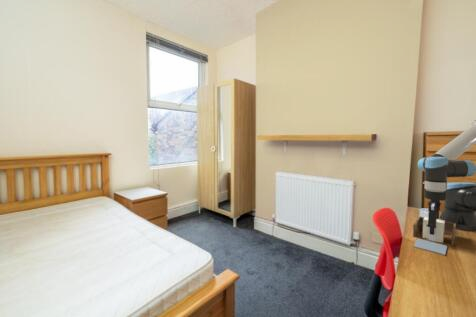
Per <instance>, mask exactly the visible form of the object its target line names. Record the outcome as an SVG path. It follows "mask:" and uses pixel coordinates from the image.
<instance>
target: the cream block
mask: <svg viewBox="0 0 476 317" xmlns="http://www.w3.org/2000/svg"><path fill="white" fill-rule="evenodd" d="M426 225H428V217H425V218H424V219H423V229H422V239H425V238H426V239H425V240H428V227H427V226H426ZM431 225H432V224H431ZM444 229H445V220H440V219H437V220H436V242H437V243H441V244H442V243H444V240H445V234H444Z"/></svg>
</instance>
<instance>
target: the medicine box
mask: <svg viewBox="0 0 476 317" xmlns="http://www.w3.org/2000/svg"><path fill="white" fill-rule="evenodd" d="M428 209H429V207H428V208H423V207H422V208H419V210H418V212H419V216H418V217H424V218H425V217H429V211H428Z"/></svg>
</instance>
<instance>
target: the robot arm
mask: <svg viewBox="0 0 476 317" xmlns="http://www.w3.org/2000/svg"><path fill="white" fill-rule="evenodd" d="M475 145H476V119H475V120H474V121H473V122H471V125H470V127H468V128H467V129H465V130H464V131H463V132H461V133H460V134H458V135H457V136H456V137H455V138H454V139H452V140H451V141H450V142H448V143H447V144H446V145H444V146H443V147H442V148H440V149H439V150H438V151H436V152H435V153H433V155H431V156H429V157H422V158H420V159H419V160H418V161H417V167H418V169H419V170H420V171H421V172H424V181H423V182H422V184H423V185H424V190H423V197H424V198H425V199H428V200H429V201H428V203H427V205H428V211H429V217H428V225H426V226H427V227H428V239H427V241H430V242H434V243H437V241H436V220H437V219H440V220H445V222H451V223H456V230H461V231H469V232H470V231H475V232H476V182H465V181H464V182H462V181H461V182H459V181H458V182H453V181H452V182H448V178H465V177H466V178H467V177H472V176H474V175H475V174H476V164H475V162H473V161H471V160H467V159H466V160H464V159H462V160H456V159H458V157H460V156H461V155H463V154H464V153H465V152H467V151H468V150H469V149H471V148H472V147H473V146H475ZM441 201H443V206H444V207H443V210H442V212H441V214H440V210H441V204H442V202H441ZM431 224H432V225H431Z"/></svg>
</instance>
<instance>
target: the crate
mask: <svg viewBox="0 0 476 317" xmlns="http://www.w3.org/2000/svg"><path fill="white" fill-rule="evenodd" d="M423 219H424V217H419V216H418V217H417V219H416V220H415V221H414V223H413V225H412V226H413V231H412V233H413V234H412V237H413V238H415V237H416V236H417V234H418V232H419V231H420V229H422V230H423ZM456 230H457V229H456V223H451V222H445V229H444V235H449V236H451V242H450V243H451V244H450V245H451V247H454V244H455V239H456Z"/></svg>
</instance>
